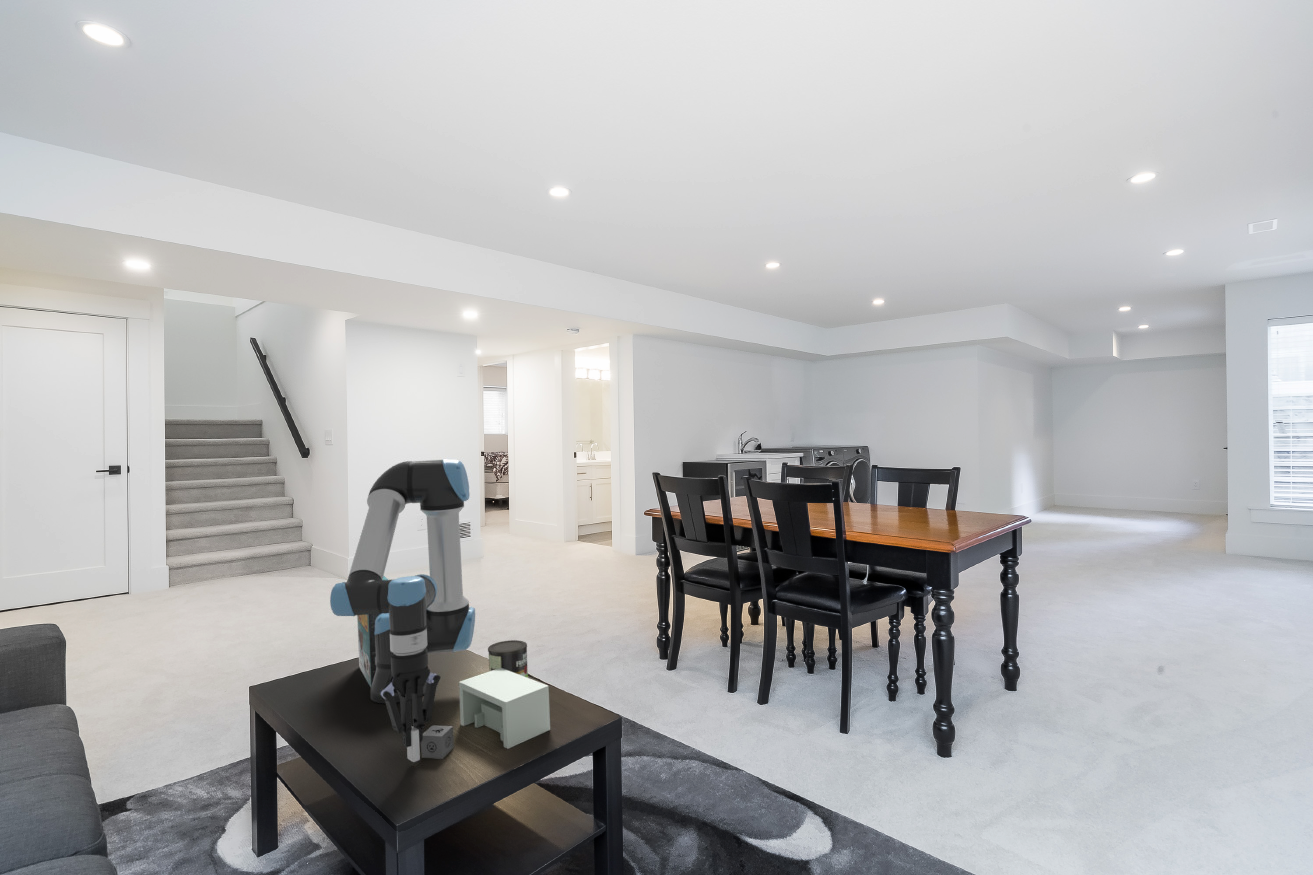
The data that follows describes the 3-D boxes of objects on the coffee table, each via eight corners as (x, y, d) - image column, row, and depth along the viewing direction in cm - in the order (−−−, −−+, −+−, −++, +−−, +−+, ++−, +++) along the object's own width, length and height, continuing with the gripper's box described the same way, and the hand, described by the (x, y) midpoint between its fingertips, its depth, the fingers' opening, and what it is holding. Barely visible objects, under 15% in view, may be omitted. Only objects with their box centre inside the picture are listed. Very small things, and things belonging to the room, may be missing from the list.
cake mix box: (393, 683, 188) (389, 580, 188) (371, 688, 185) (367, 583, 185) (379, 662, 207) (376, 568, 206) (359, 666, 203) (355, 571, 203)
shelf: (460, 724, 159) (458, 681, 159) (502, 707, 168) (500, 667, 168) (507, 748, 145) (505, 702, 145) (550, 729, 154) (548, 685, 154)
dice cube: (442, 758, 142) (441, 736, 142) (421, 757, 143) (420, 735, 143) (453, 747, 147) (452, 726, 147) (433, 746, 148) (432, 725, 148)
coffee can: (534, 691, 178) (532, 640, 178) (519, 706, 168) (517, 652, 168) (500, 689, 180) (498, 639, 180) (483, 705, 170) (480, 651, 170)
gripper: (387, 662, 132) (391, 777, 132) (445, 645, 142) (450, 752, 142) (371, 654, 137) (376, 765, 138) (429, 639, 147) (433, 742, 147)
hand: (413, 758), depth 140 cm, fingers closed
